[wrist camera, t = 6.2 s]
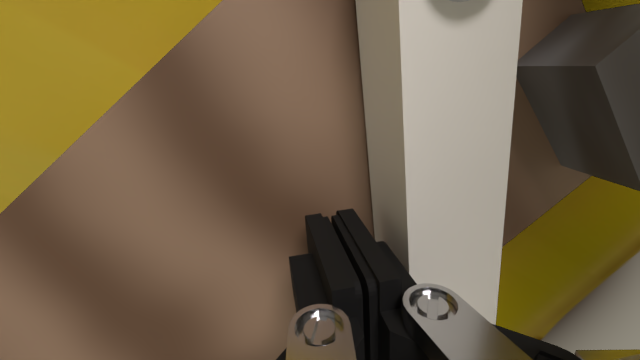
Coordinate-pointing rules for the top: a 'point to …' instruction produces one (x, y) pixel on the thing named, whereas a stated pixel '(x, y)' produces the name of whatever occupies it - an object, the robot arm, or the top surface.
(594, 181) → the top surface
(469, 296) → the folding leg
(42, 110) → the top surface
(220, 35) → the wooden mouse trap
